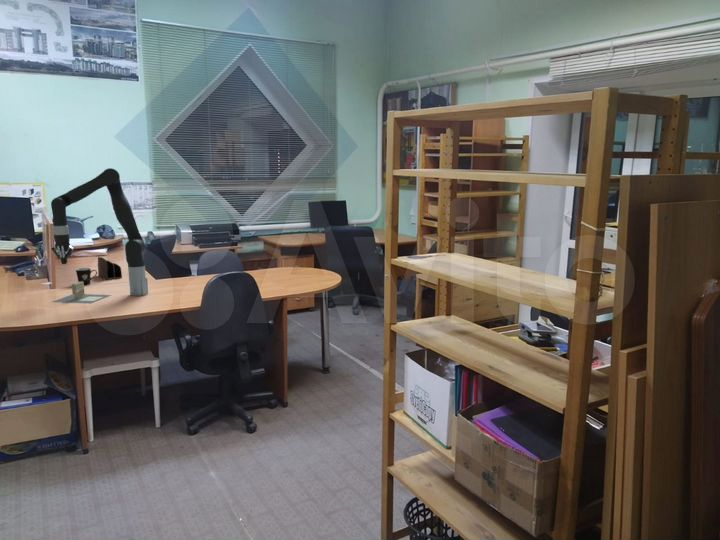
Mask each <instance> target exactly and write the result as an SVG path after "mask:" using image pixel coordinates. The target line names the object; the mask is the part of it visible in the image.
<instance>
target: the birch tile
mask: <svg viewBox="0 0 720 540" xmlns="http://www.w3.org/2000/svg"><path fill="white" fill-rule="evenodd" d="M71 290H72V291H71V292H72V294H73V300H78V299H81V298H84V297H85V294H86V293H85V285H84V282H78V281H76V282H74V283H71Z"/></svg>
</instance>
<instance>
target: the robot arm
mask: <svg viewBox="0 0 720 540" xmlns="http://www.w3.org/2000/svg"><path fill="white" fill-rule="evenodd" d="M120 176H121V175H120V173H119V172H118V171H117V169H115V168H112V167H111V168H110V167H109V168H106V169H105V170H103V171H102V172H101V173H100V174H98V175H96V177H94V178H92V179H90V180H89V181H86V182H84V183H82V184H80V185H78V186H76V187H74V188H72V189H70V190H69V191H67V192H66V193H63V194H61V195H58V196H57V197H54V198H53V199H52V200H51V202H50V206H51V207H50V208H51V213H52V214H51V215H52V224H53V225H52V226H53V229H52V230H53V239H54V246H53V247H51V250H52V251H53V254H55V256H57V257H59V258H60V263H61V264H62V265H67V264H68V257H71V255H72V253H73V251H74V250H75V247H72V246H71V244H70V241H71V240H70V231H69V230H70V229H69V226H68V224H69V223H68V218H67V207H69V206H71V205H72V204H76V203H78V202H79V201H81V200H83V199H86V198H87V197H89V196H90V195H91V194H93V193H95V192H96V191H98V190H100V189H102V188H104V187H106V189H107V191H108V193H109V196H110V199H111V205H112V210H113V212H114V215H115V217H116V220H117V222H118V223H119V225H120V226H121V227H122V229H123V230H124V232H125V233H126V234H125V235H126V236H127V239H128V241H126V243H125V244H124V245H125V246H124V251H125V252H124V253H125V259H126V263H127V267H128V281H129V282H128V283H129V293H130V294H129V295H130V296H134V297H138V296H145V295H147V294H149V283H148V277H147V274H146V264H145V260H144V258H143V252H145V249H146V244H145V241H144V239H143V237H142V235H141V233H140V231H139V228H138V225H137V221H136V219H135V216H134V212H133V210H132V208H131V205H130V202H129V201H128V198H127V196H126V195H125V192H124V190H123V187H122V183H121V177H120Z"/></svg>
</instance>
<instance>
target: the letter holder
mask: <svg viewBox="0 0 720 540" xmlns="http://www.w3.org/2000/svg"><path fill="white" fill-rule="evenodd" d="M122 273H123V272H122V267H121V266H120V265H119V264H117V263H115V262H111V261H110V260H106V259H105V258H103V257H100V256H98V257H97V275H98V276H99V277H101V278H103V279H104V280H106V281H110V280H117V279H119V280H120V279H122V278H123V274H122Z"/></svg>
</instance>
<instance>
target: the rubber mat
mask: <svg viewBox="0 0 720 540" xmlns="http://www.w3.org/2000/svg"><path fill="white" fill-rule="evenodd" d="M110 296H112V295H111V294H91V293H89V294H88V293H85V297H84V298H81V299H78V300H73V293H72V294H70V295H67V296H64V297H62V298H58V299H55V300H53V301H51V303H63V304H64V303H65V304H67V303H69V304H95V302H98V301H101V300H104V299H106V298H109V297H110Z"/></svg>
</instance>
